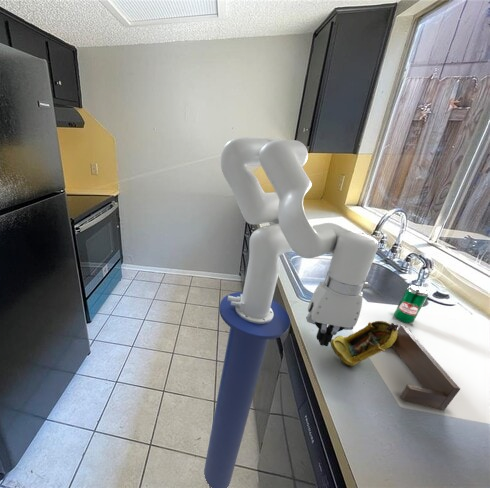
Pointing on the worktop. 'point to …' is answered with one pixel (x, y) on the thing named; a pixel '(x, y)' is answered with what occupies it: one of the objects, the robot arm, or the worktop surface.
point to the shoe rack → (424, 373)
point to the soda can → (410, 304)
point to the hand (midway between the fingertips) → (322, 342)
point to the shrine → (365, 342)
